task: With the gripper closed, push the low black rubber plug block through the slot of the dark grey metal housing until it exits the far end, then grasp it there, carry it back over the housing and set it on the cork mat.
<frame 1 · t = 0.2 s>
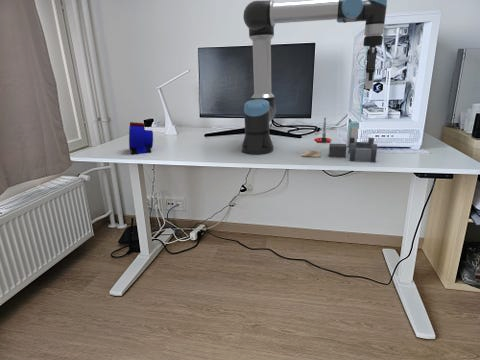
hand: (368, 87, 141), 28 cm above the table, fingers open, 13 cm apart
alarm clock: (142, 151, 159), on the table
cork mat: (311, 154, 141), on the table
housing: (361, 156, 136), on the table
can: (354, 147, 152), on the table
plug: (337, 156, 139), on the table
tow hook: (322, 141, 166), on the table
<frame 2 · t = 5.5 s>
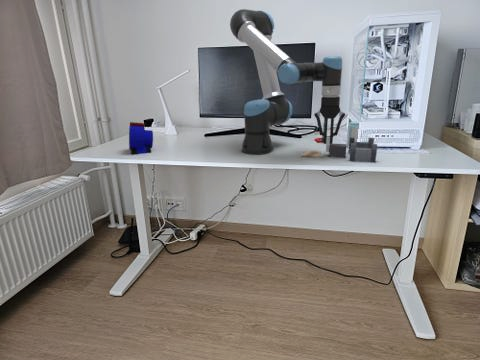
hand: (327, 150, 139), 2 cm above the table, fingers closed
plug: (337, 156, 138), on the table, touching gripper
everything else where it was.
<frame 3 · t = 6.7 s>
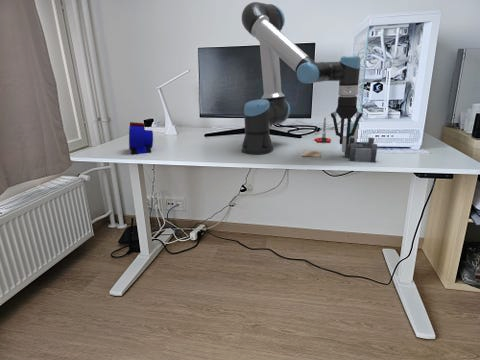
hand: (343, 151, 137), 2 cm above the table, fingers closed
plug: (353, 156, 137), on the table, touching gripper
everything else where it was.
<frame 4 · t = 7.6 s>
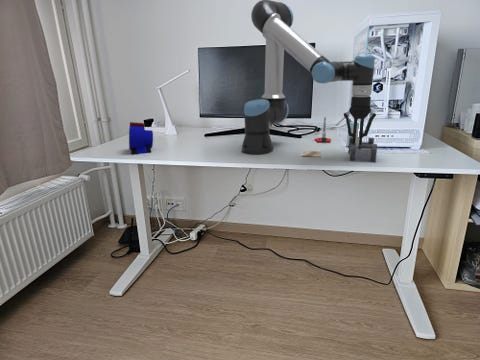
hand: (356, 151, 136), 2 cm above the table, fingers closed
plug: (365, 156, 135), on the table, touching gripper
everything else where it was.
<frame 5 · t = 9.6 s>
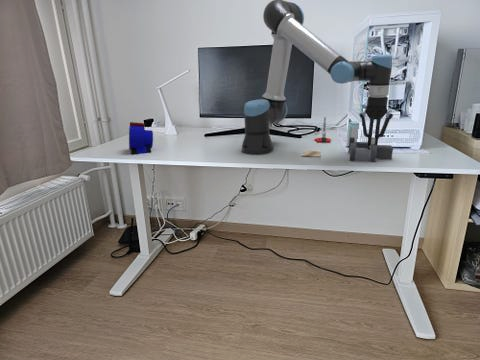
hand: (371, 152, 134), 2 cm above the table, fingers closed
plug: (381, 157, 134), on the table, touching gripper
everything else where it was.
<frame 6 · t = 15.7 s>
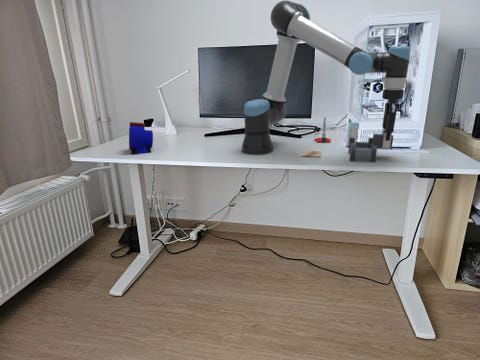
hand: (384, 145, 132), 5 cm above the table, fingers closed on plug, 5 cm apart
plug: (381, 146, 132), point 5 cm above the table, touching gripper
everything else where it was.
when the fingers open (1 cm above the table, at t = 20.4 s): plug stays where it is, resting on cork mat.
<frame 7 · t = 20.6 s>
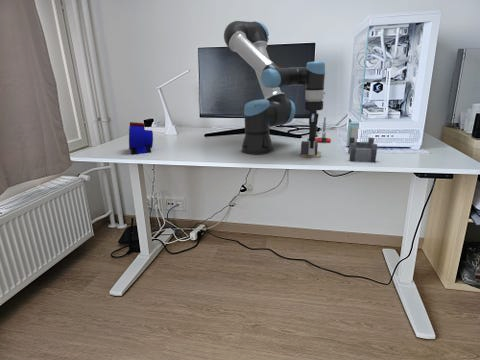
hand: (311, 153, 141), 1 cm above the table, fingers open, 6 cm apart
plug: (309, 153, 141), point 1 cm above the table, touching cork mat, gripper
everything else where it was.
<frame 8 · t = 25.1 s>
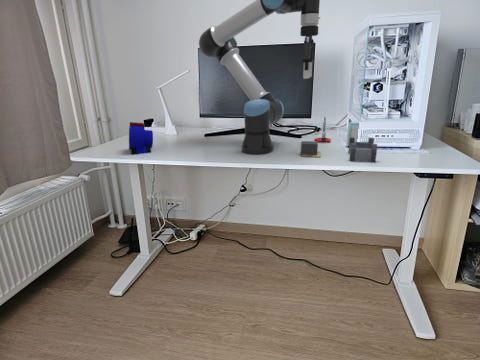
hand: (307, 77, 142), 33 cm above the table, fingers open, 13 cm apart
plug: (309, 153, 141), point 1 cm above the table, touching cork mat
everything else where it was.
at the end: plug inside the target area on the cork mat (1.1 cm from its centre), point 0.6 cm above the cork mat's base; plug tilted 0°; the gripper is holding nothing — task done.
